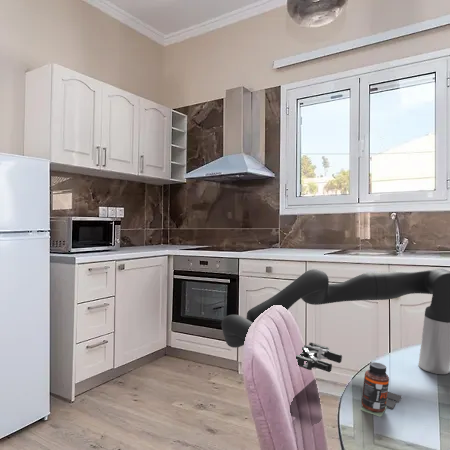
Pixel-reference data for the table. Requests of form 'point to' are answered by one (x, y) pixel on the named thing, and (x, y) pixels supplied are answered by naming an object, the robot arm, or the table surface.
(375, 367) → the supplement bottle
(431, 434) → the table surface
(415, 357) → the table surface
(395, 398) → the track
